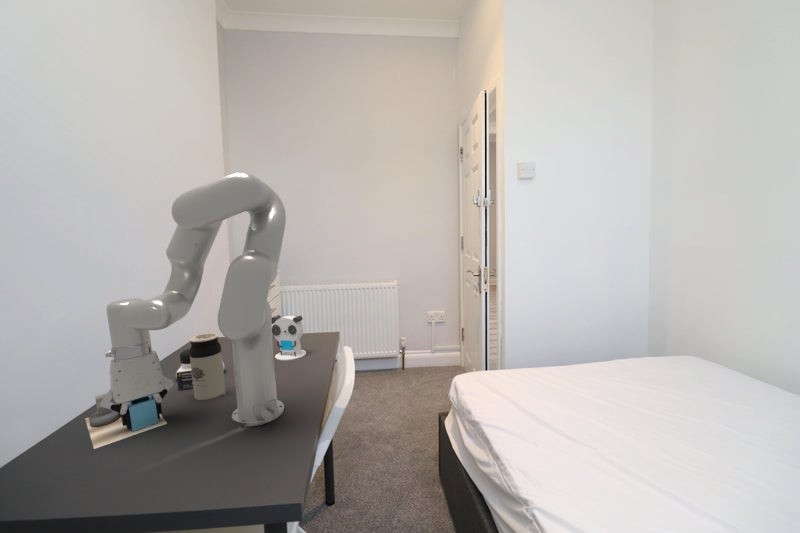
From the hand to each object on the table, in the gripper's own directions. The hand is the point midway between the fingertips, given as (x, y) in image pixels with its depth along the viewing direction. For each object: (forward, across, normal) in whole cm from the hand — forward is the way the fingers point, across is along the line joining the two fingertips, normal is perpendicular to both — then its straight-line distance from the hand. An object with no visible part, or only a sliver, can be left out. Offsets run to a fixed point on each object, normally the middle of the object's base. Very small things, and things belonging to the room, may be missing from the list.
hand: (143, 421), depth 91 cm
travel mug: (+2, +17, +6) cm, 18 cm away
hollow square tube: (0, 0, 0) cm, 0 cm away
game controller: (+2, +21, +26) cm, 34 cm away
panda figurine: (+3, +50, +21) cm, 54 cm away
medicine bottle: (+2, +16, +17) cm, 23 cm away
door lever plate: (+2, -3, +6) cm, 7 cm away
